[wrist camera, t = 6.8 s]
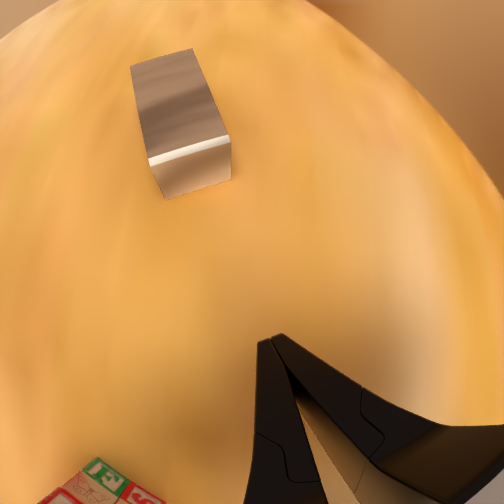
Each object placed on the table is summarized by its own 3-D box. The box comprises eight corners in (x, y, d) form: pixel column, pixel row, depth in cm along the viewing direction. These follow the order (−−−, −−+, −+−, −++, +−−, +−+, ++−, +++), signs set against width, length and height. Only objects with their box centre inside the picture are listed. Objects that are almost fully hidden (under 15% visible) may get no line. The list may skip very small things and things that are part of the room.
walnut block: (231, 142, 18) (192, 48, 20) (150, 166, 17) (129, 66, 19) (230, 179, 23) (196, 89, 25) (165, 200, 22) (142, 105, 24)
